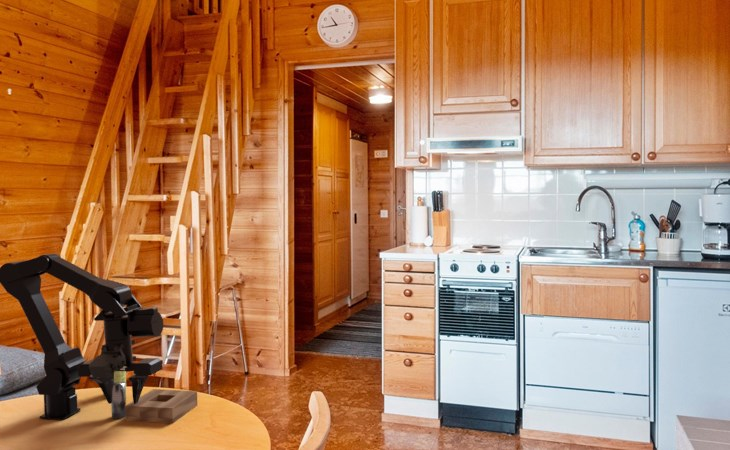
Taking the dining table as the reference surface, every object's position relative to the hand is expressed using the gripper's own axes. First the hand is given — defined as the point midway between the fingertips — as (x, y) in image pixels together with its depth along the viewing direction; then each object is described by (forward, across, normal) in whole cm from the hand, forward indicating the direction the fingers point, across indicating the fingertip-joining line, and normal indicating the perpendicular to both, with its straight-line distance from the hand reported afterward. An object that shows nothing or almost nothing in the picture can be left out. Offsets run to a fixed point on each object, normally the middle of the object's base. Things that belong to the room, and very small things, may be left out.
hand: (123, 403), depth 136 cm
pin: (+3, -1, 0) cm, 3 cm away
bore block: (+4, +8, +4) cm, 9 cm away
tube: (+3, -12, +15) cm, 20 cm away
